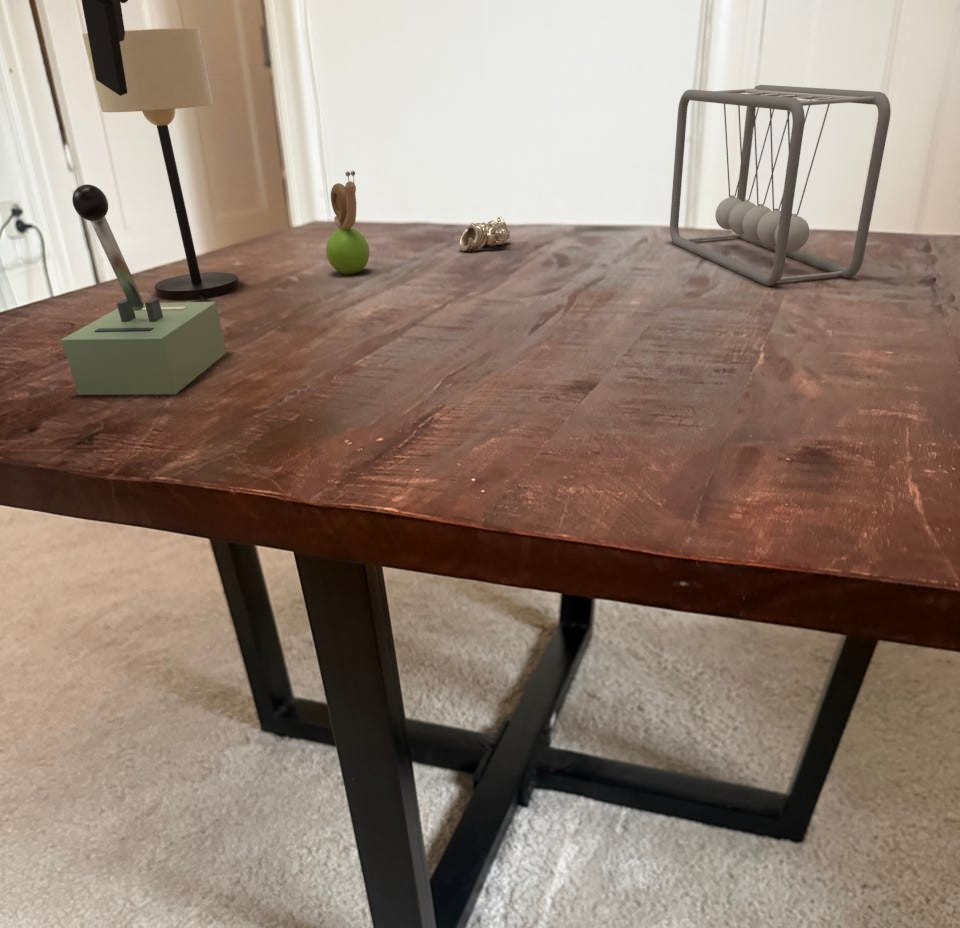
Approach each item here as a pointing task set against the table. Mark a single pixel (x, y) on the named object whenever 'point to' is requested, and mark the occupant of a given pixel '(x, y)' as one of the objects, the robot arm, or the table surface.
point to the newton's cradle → (759, 221)
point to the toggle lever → (106, 238)
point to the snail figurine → (346, 232)
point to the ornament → (484, 235)
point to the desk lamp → (157, 93)
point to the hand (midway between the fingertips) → (41, 115)
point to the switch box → (145, 348)
